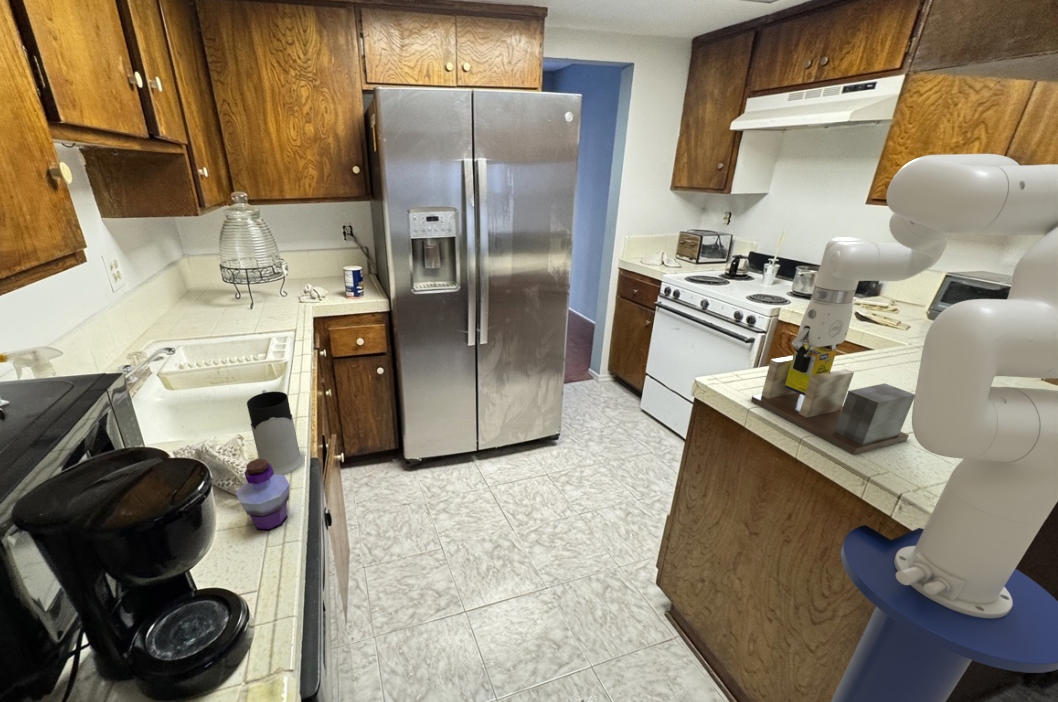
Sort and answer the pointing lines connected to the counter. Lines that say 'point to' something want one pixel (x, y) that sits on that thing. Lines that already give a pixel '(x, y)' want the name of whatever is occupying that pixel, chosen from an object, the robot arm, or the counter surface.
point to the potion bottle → (264, 495)
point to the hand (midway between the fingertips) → (810, 368)
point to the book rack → (838, 408)
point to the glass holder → (274, 431)
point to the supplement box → (810, 369)
